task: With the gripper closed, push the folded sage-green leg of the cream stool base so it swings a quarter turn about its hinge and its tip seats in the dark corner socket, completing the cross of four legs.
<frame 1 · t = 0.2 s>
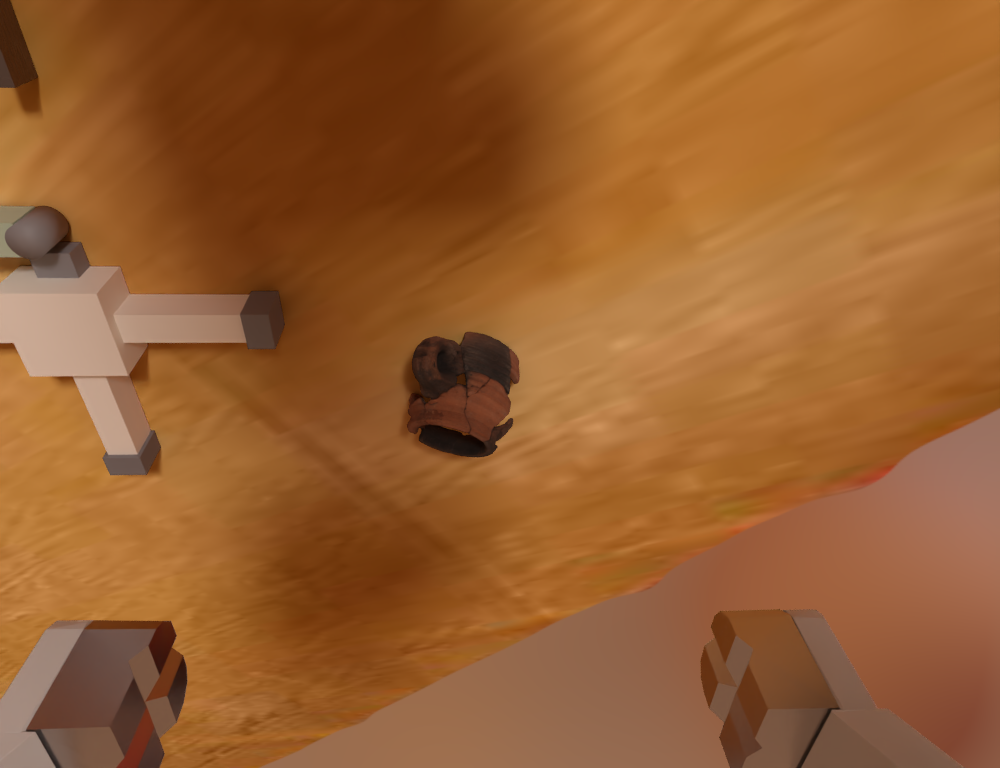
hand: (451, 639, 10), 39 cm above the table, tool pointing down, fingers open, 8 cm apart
stool base: (86, 307, 49), on the table
pottery mug: (458, 367, 55), on the table
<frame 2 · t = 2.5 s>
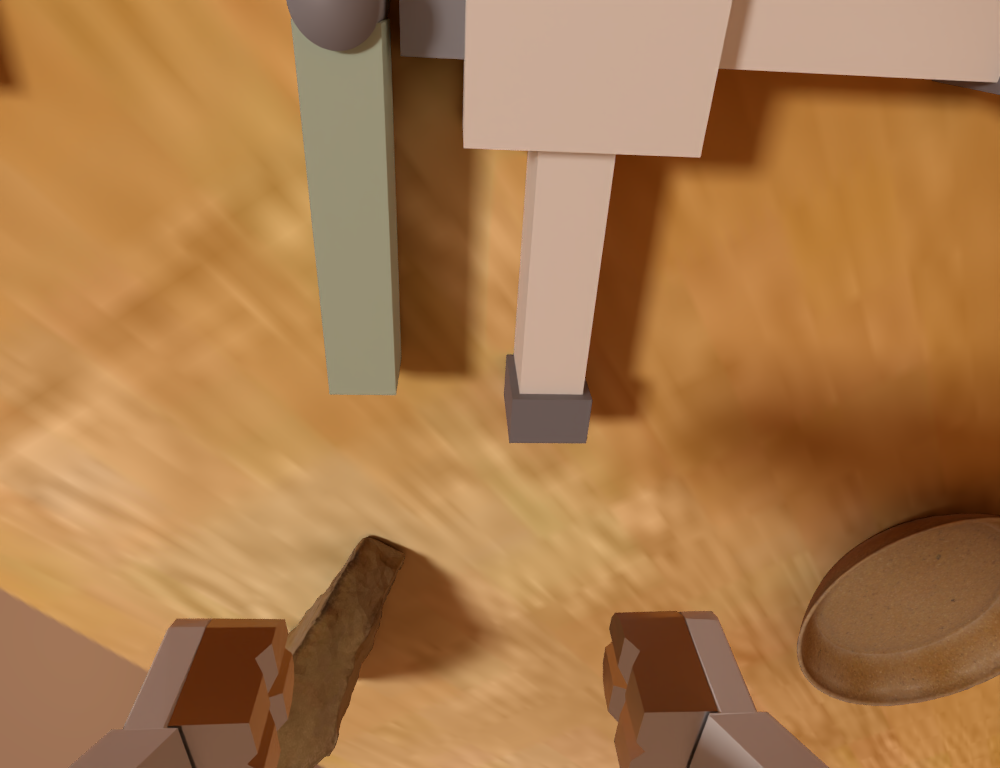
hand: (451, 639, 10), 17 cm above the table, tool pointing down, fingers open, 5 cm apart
rock: (350, 602, 35), on the table
stool base: (575, 9, 21), on the table
hinged leg: (355, 198, 21), point 2 cm above the table, hinge at 90.0°
plant saucer: (906, 581, 37), on the table
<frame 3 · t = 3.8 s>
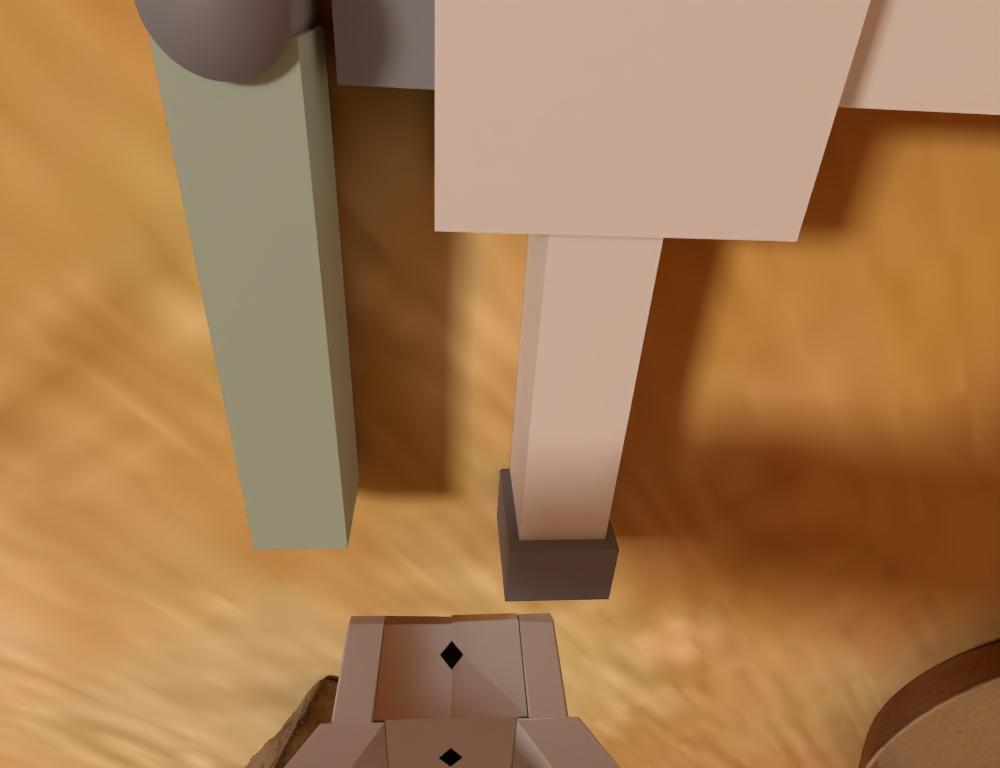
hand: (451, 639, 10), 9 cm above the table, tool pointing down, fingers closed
rock: (307, 744, 28), on the table
stool base: (602, 13, 14), on the table
hinged leg: (279, 288, 15), point 2 cm above the table, hinge at 90.0°
plant saucer: (981, 701, 31), on the table
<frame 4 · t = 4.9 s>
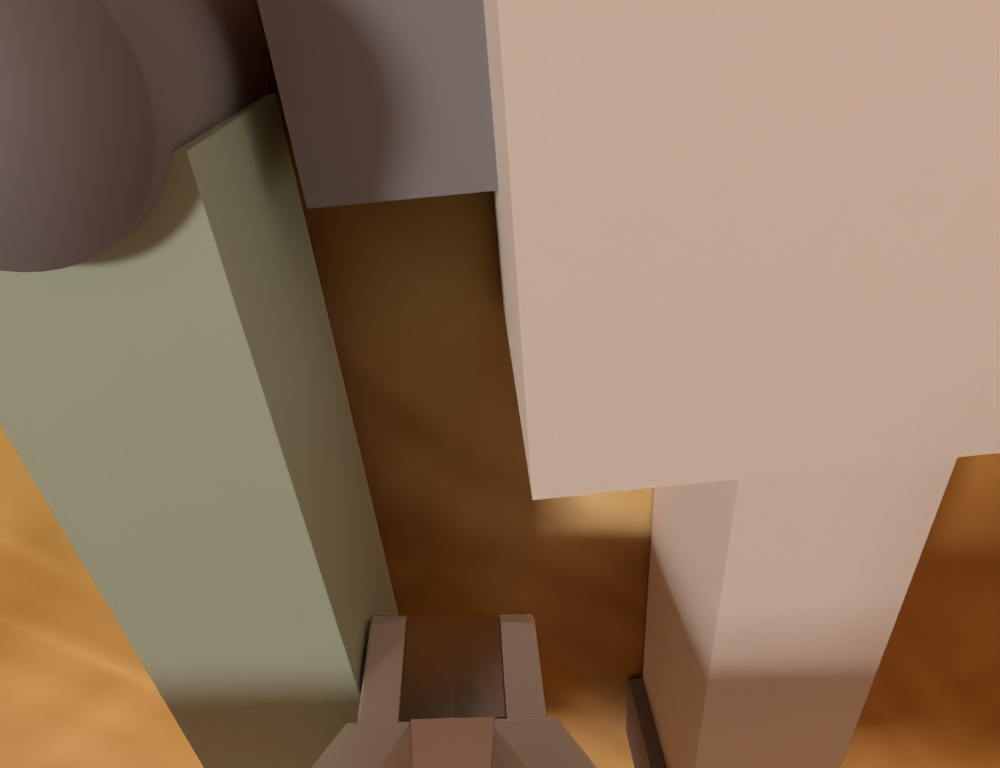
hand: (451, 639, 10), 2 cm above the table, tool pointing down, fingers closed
hinged leg: (258, 540, 9), point 2 cm above the table, hinge at 89.6°, touching gripper
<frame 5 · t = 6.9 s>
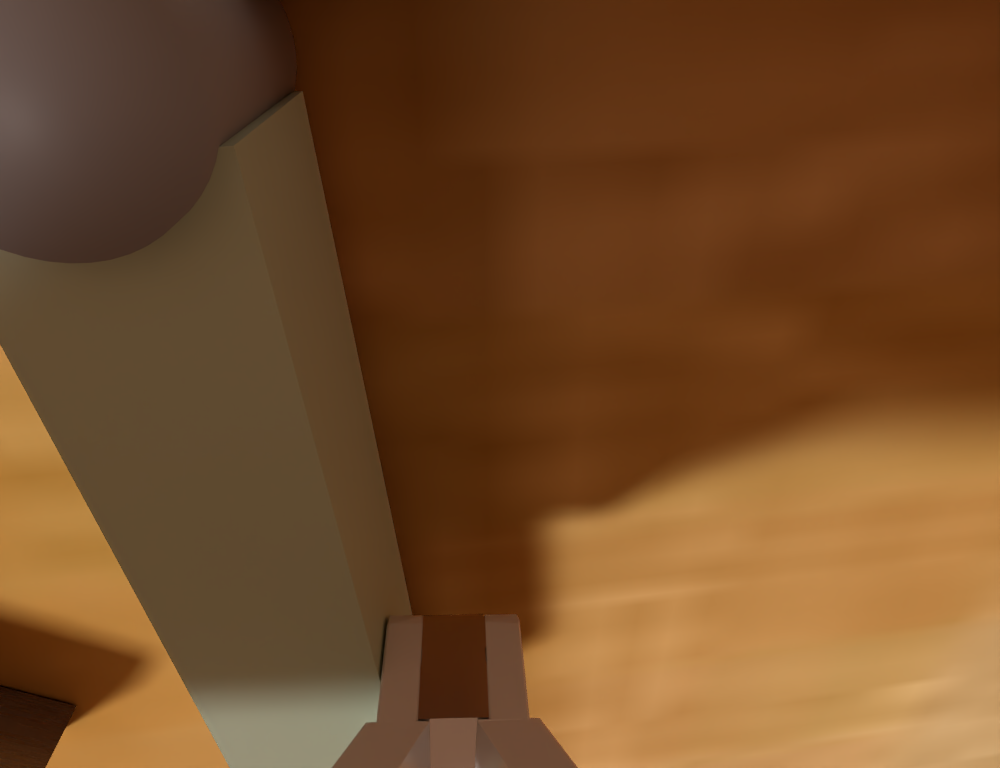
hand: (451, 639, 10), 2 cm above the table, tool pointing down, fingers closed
hinged leg: (279, 532, 9), point 2 cm above the table, hinge at 37.4°, touching gripper
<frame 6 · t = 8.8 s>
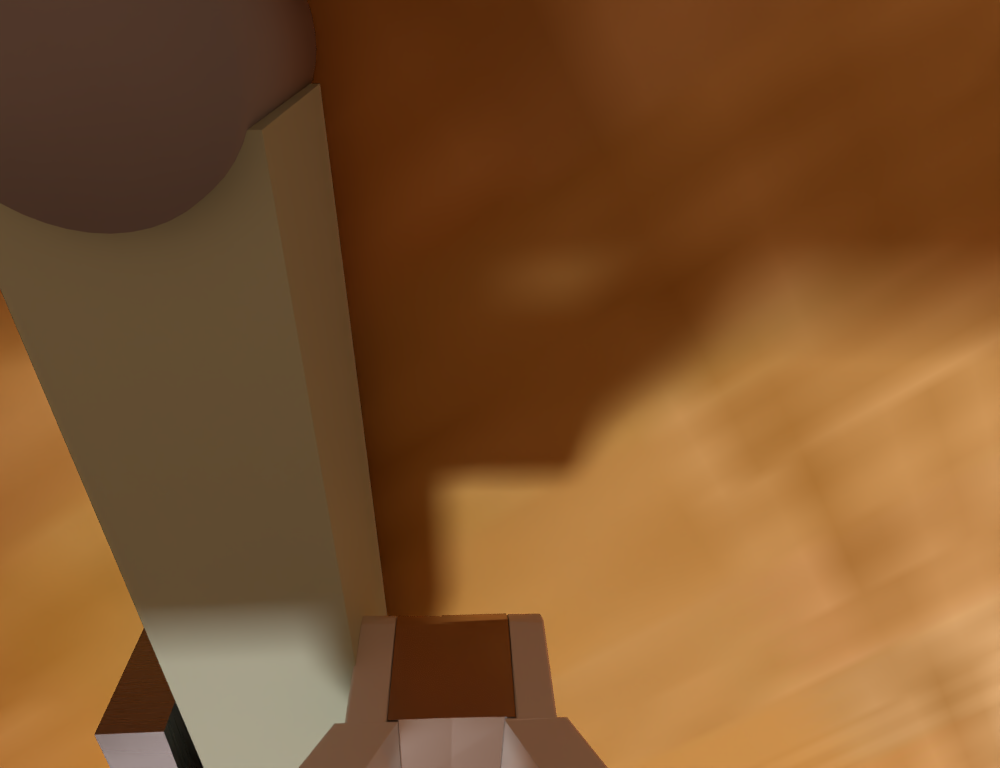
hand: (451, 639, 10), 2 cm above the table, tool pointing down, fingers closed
hinged leg: (264, 517, 9), point 2 cm above the table, hinge at 2.3°, touching gripper
leg socket: (317, 681, 14), on the table
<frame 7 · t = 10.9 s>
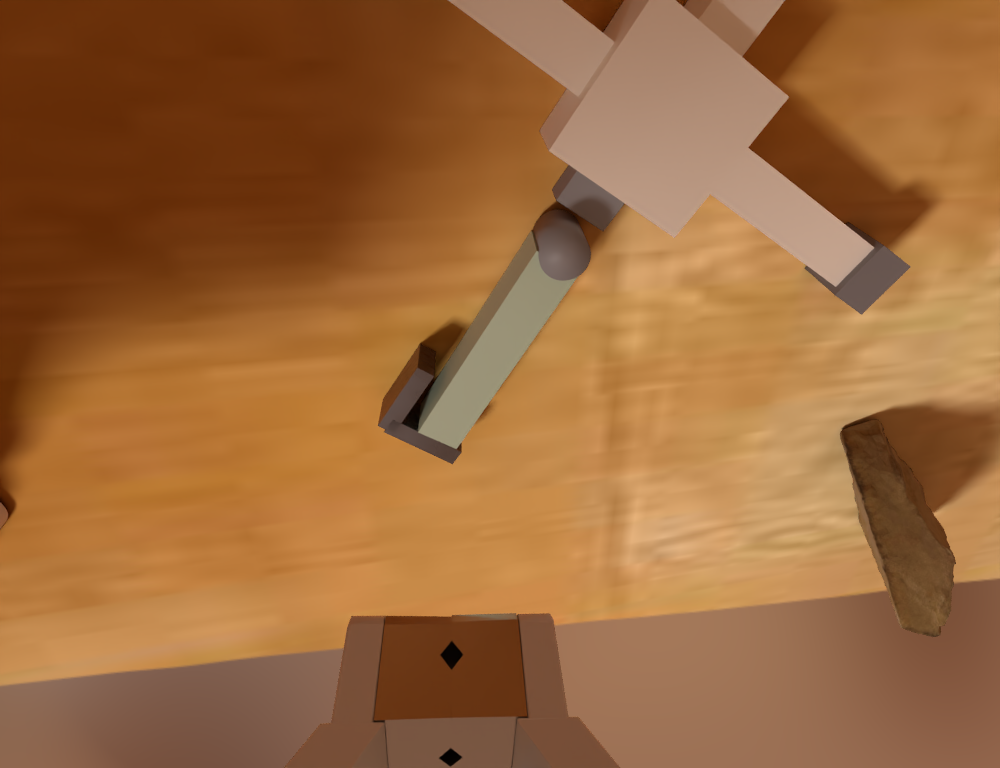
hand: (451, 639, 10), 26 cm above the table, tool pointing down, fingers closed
rock: (876, 472, 43), on the table
stool base: (644, 106, 30), on the table
hinged leg: (500, 334, 34), point 2 cm above the table, hinge at 2.3°
leg socket: (436, 398, 38), on the table
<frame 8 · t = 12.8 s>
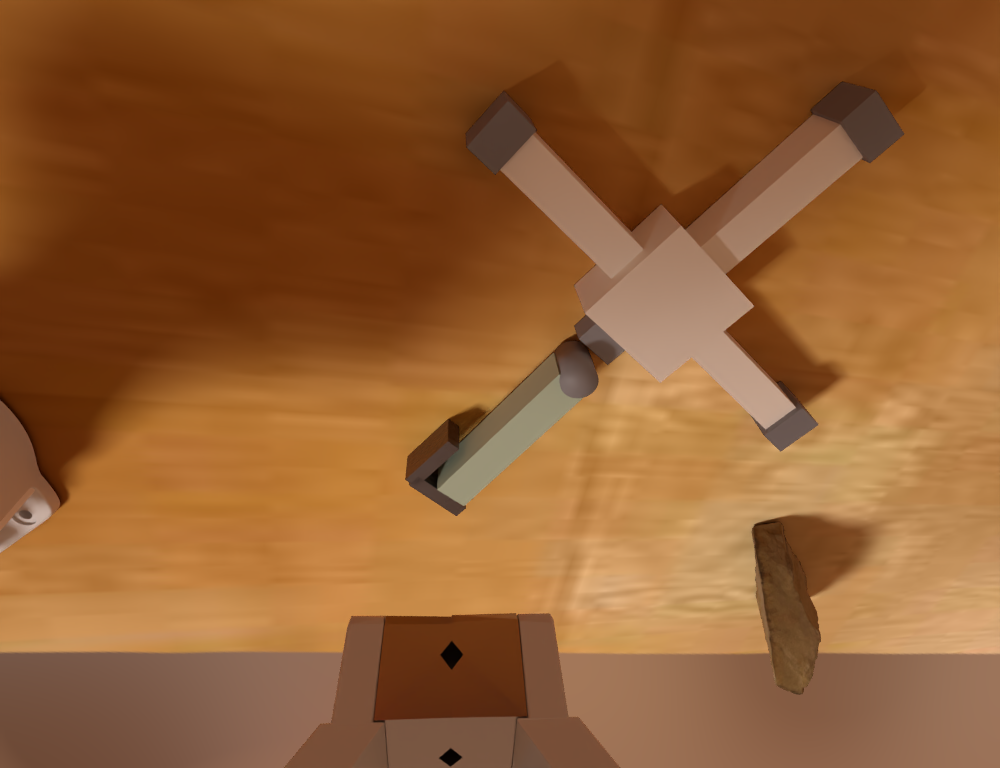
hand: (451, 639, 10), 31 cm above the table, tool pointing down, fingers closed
rock: (774, 560, 55), on the table
stool base: (652, 282, 41), on the table
hinged leg: (515, 424, 44), point 2 cm above the table, hinge at 2.3°
leg socket: (450, 461, 47), on the table
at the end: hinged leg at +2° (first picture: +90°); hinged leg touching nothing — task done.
